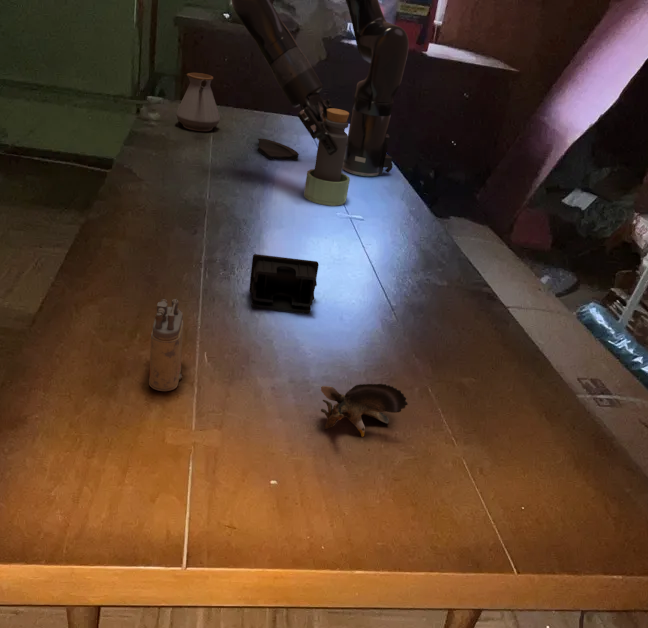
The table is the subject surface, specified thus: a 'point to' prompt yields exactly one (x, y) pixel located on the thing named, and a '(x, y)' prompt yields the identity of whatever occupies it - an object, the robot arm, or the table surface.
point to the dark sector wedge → (276, 150)
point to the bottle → (336, 124)
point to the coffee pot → (198, 104)
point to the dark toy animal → (363, 403)
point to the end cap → (283, 283)
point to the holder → (326, 190)
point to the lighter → (166, 347)
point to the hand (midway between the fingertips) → (339, 149)
